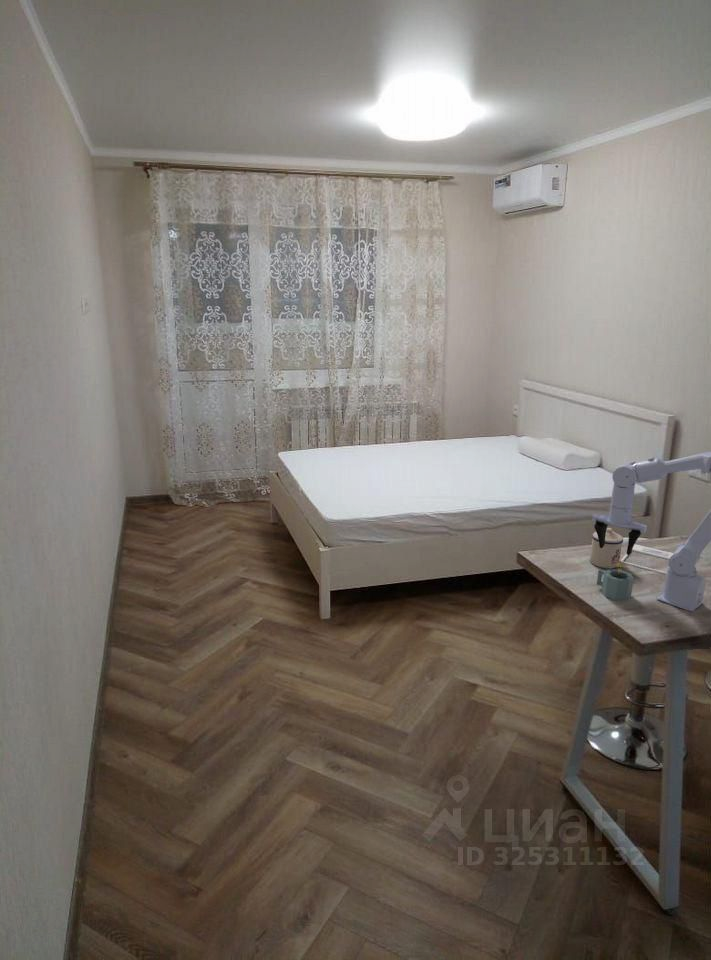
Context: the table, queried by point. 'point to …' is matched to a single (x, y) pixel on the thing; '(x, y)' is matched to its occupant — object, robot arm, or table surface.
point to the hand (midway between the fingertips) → (615, 550)
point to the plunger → (619, 565)
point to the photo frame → (649, 552)
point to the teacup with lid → (606, 550)
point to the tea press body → (615, 584)
